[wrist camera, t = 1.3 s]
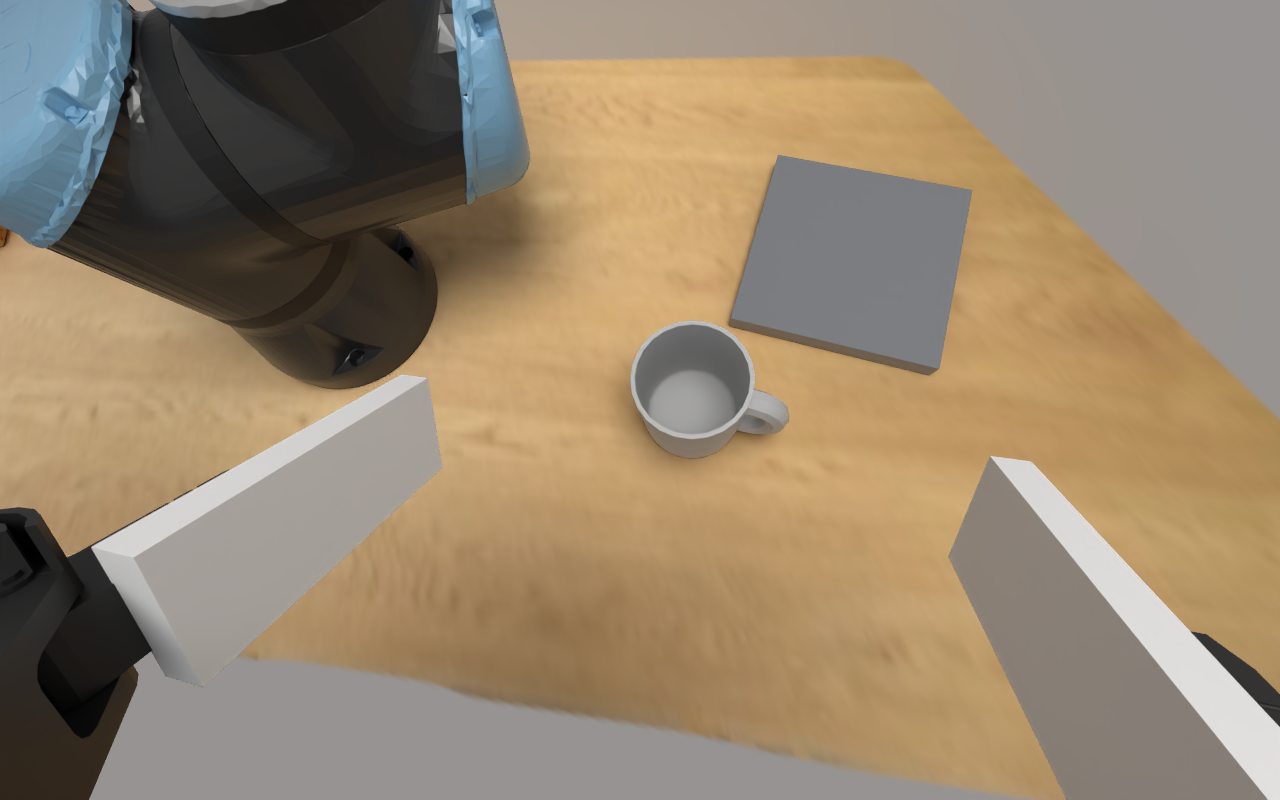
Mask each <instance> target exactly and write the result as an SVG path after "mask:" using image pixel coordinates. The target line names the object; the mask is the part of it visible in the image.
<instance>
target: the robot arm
mask: <svg viewBox="0 0 1280 800" xmlns="http://www.w3.org/2000/svg"><path fill="white" fill-rule="evenodd" d="M149 1H150V2H151V3H152V4H154V5H155V6H156V9H153V10H150V11H145V12H140V11H136V10H135V9H133V7H132V6H131V5H130V4H129V3H128V2H127V1H126V0H0V225H1V226H3V227H5V228H7V229H9V230H11V231H13V232H15V233H17V234H19V235H21V237H22V238H23V239H24V240H25V241H26V242H28V243H29V244H31V245H34V246H36V247H40V248H47V249H49V250H52V251H54V252H56V253H59V254H61V255H63V256H66V257H68V258H71V259H73V260H75V261H78V262H80V263H83V264H85V265H87V266H90V267H92V268H95V269H97V270H99V271H102V272H104V273H106V274H109V275H111V276H114V277H116V278H118V279H121V280H123V281H126V282H128V283H130V284H133V285H135V286H138V287H140V288H142V289H145V290H147V291H149V292H152V293H154V294H157V295H159V296H161V297H164V298H166V299H169V300H171V301H173V302H176V303H178V304H181V305H183V306H185V307H188V308H190V309H192V310H195V311H197V312H200V313H202V314H204V315H207V316H209V317H212V318H214V319H216V320H218V321H221V322H223V323H225V324H228V325H230V326H231V327H232V328H233V329H234V330H235V331H236V332H237V333H238V334H240V335H241V336H242V337H243V338H244V339H245V340H246V341H247V342H248V343H249V344H250V345H251V346H252V347H254V348H255V349H256V350H257V351H258V352H259V353H260V354H261V355H262V356H263V357H264V358H265V359H266V360H268V361H269V362H270V363H271V364H272V365H273V366H275V367H276V368H277V369H279V370H280V371H282V372H284V373H285V374H287V375H289V376H291V377H294V378H296V379H299V380H302V381H304V382H307V383H310V384H312V385H315V386H319V387H324V388H332V389H343V388H352V387H357V386H361V385H364V384H367V383H370V382H372V381H375V380H377V379H379V378H381V377H383V376H385V375H386V374H388V373H390V372H391V371H393V370H394V369H395V368H397V367H398V366H399V365H400V364H402V363H403V362H404V361H405V360H406V359H407V358H408V357H409V356H410V355H411V354H412V353H413V352H414V350H415V349H416V348H417V347H418V345H419V344H420V342H421V341H422V339H423V338H424V336H425V334H426V332H427V330H428V328H429V326H430V324H431V321H432V318H433V315H434V312H435V307H436V301H437V283H436V277H435V273H434V270H433V267H432V265H431V263H430V261H429V259H428V257H427V256H426V254H425V253H424V252H423V250H422V249H421V248H420V247H419V246H418V245H417V244H416V243H415V242H414V241H413V240H412V239H411V238H410V237H409V236H408V235H407V234H406V233H405V232H404V231H402V230H401V229H400V228H398V227H397V226H396V225H395V224H398V223H401V222H405V221H408V220H411V219H415V218H418V217H421V216H425V215H428V214H431V213H434V212H438V211H441V210H444V209H448V208H451V207H454V206H458V205H461V204H464V203H465V204H466V205H471V204H472V203H474V202H475V201H476V198H479V197H482V196H484V195H487V194H490V193H492V192H495V191H498V190H501V189H503V188H506V187H509V186H512V185H514V184H515V183H517V182H518V181H519V180H520V179H521V178H522V177H523V175H524V174H525V172H526V170H527V169H528V165H529V160H530V152H529V146H528V141H527V137H526V132H525V128H524V124H523V119H522V115H521V111H520V107H519V103H518V98H517V94H516V90H515V86H514V82H513V78H512V73H511V69H510V65H509V61H508V57H507V53H506V49H505V46H504V41H503V37H502V33H501V29H500V24H499V20H498V16H497V12H496V8H495V4H494V0H149ZM441 468H442V463H441V456H440V450H439V444H438V438H437V431H436V425H435V419H434V413H433V407H432V400H431V394H430V388H429V382H428V378H425V377H418V376H410V375H403V374H401V375H400V376H398V377H396V378H394V379H392V380H391V381H389V382H387V383H385V384H383V385H382V386H380V387H378V388H376V389H374V390H373V391H371V392H369V393H367V394H365V395H364V396H362V397H360V398H358V399H356V400H355V401H353V402H351V403H349V404H347V405H346V406H344V407H342V408H340V409H338V410H337V411H335V412H333V413H331V414H329V415H328V416H326V417H324V418H322V419H320V420H319V421H317V422H315V423H313V424H311V425H310V426H308V427H306V428H304V429H302V430H301V431H299V432H297V433H295V434H293V435H292V436H290V437H288V438H286V439H284V440H283V441H281V442H279V443H277V444H275V445H274V446H272V447H270V448H268V449H266V450H265V451H263V452H261V453H259V454H257V455H256V456H254V457H252V458H250V459H248V460H247V461H245V462H243V463H241V464H239V465H238V466H236V467H234V468H232V469H229V470H227V471H224V472H223V473H221V474H219V475H217V476H215V477H214V478H212V479H210V480H208V481H206V482H204V483H203V484H201V485H199V486H197V488H196V489H194V490H190V491H188V492H186V493H185V494H183V495H181V496H179V497H177V498H176V499H174V501H173V502H171V503H167V504H165V505H163V506H161V507H159V508H157V509H156V510H154V511H152V512H150V513H148V514H147V515H145V516H143V517H141V518H139V519H138V520H136V521H134V522H132V523H130V524H129V525H127V526H125V527H123V528H121V529H119V530H118V531H116V532H114V533H112V534H110V535H109V536H107V537H105V538H103V539H101V540H100V541H98V542H96V543H94V544H92V545H91V546H89V547H87V548H85V549H83V550H82V551H80V552H78V553H76V554H74V555H72V556H70V557H68V558H67V557H66V556H65V554H64V552H63V551H62V549H61V547H60V546H59V544H58V543H57V541H56V539H55V538H54V536H53V534H52V533H51V531H50V530H49V528H48V526H47V525H46V523H45V521H44V520H43V518H42V517H41V515H40V514H39V513H38V512H37V511H36V510H35V509H28V508H19V507H18V508H9V509H0V800H89V798H90V796H91V794H92V791H93V789H94V786H95V784H96V782H97V779H98V777H99V774H100V772H101V770H102V767H103V765H104V763H105V760H106V758H107V755H108V753H109V751H110V748H111V746H112V743H113V741H114V739H115V736H116V734H117V732H118V729H119V727H120V724H121V722H122V720H123V717H124V715H125V713H126V710H127V708H128V705H129V703H130V701H131V698H132V696H133V693H134V691H135V689H136V686H137V681H138V672H137V671H136V669H135V668H134V666H133V665H134V664H135V663H137V662H138V661H139V660H140V659H142V658H143V657H144V656H145V655H147V654H148V653H149V652H152V653H153V655H154V657H155V659H156V660H157V662H158V664H159V665H160V667H161V669H162V670H163V672H164V674H165V676H168V677H171V678H174V679H177V680H181V681H185V682H187V683H191V684H194V685H198V686H201V687H204V686H205V685H206V684H207V683H208V682H209V681H210V680H212V679H213V678H214V677H215V676H216V675H217V674H218V673H219V672H220V671H221V670H222V669H224V667H226V666H227V665H228V664H229V663H230V662H231V661H232V660H233V659H234V658H236V657H237V656H238V655H239V654H240V653H241V652H242V651H243V650H244V649H245V648H246V647H248V646H249V645H250V644H251V643H252V642H253V641H254V640H255V639H256V638H257V637H258V636H259V635H261V634H262V633H263V632H264V631H265V630H266V629H267V628H268V627H269V626H270V625H271V624H273V623H274V622H275V621H276V620H277V619H278V618H279V617H280V616H281V615H282V614H283V613H285V612H286V611H287V610H288V609H289V608H290V607H291V606H292V605H293V604H294V603H295V602H297V601H298V600H299V599H300V598H301V597H302V596H303V595H304V594H305V593H306V592H307V591H309V590H310V589H311V588H312V587H313V586H314V585H315V584H316V583H317V582H318V581H319V580H320V579H322V578H323V577H324V576H325V575H326V574H327V573H328V572H329V571H330V570H331V569H332V568H334V567H335V566H336V565H337V564H338V563H339V562H340V561H341V560H342V559H343V558H344V557H346V556H347V555H348V554H349V553H350V552H351V551H352V550H353V549H354V548H355V547H356V546H358V545H359V544H360V543H361V542H362V541H363V540H364V539H365V538H366V537H367V536H368V535H370V534H371V533H372V532H373V531H374V530H375V529H376V528H377V527H378V526H379V525H380V524H381V523H383V522H384V521H385V520H386V519H387V518H388V517H389V516H390V515H391V514H392V513H393V512H395V511H396V510H397V509H398V508H399V507H400V506H401V505H402V504H403V503H404V502H405V501H407V500H408V499H409V498H410V497H411V496H412V495H413V494H414V493H415V492H416V491H417V490H419V489H420V488H421V487H422V486H423V485H424V484H425V483H426V482H427V481H428V480H429V479H431V478H432V477H433V476H434V475H435V474H436V473H437V472H438V471H439V470H440V469H441ZM948 557H949V559H950V561H951V563H952V565H953V567H954V569H955V571H956V573H957V575H958V577H959V580H960V582H961V584H962V586H963V588H964V590H965V592H966V594H967V596H968V598H969V600H970V602H971V604H972V606H973V608H974V610H975V612H976V614H977V617H978V619H979V621H980V623H981V625H982V627H983V629H984V631H985V633H986V635H987V637H988V639H989V641H990V643H991V645H992V647H993V649H994V651H995V653H996V656H997V658H998V660H999V662H1000V664H1001V666H1002V668H1003V670H1004V672H1005V674H1006V676H1007V678H1008V680H1009V682H1010V684H1011V686H1012V688H1013V690H1014V693H1015V695H1016V697H1017V699H1018V701H1019V703H1020V705H1021V707H1022V709H1023V711H1024V713H1025V715H1026V717H1027V719H1028V721H1029V723H1030V725H1031V727H1032V730H1033V732H1034V734H1035V736H1036V738H1037V740H1038V742H1039V744H1040V746H1041V748H1042V750H1043V752H1044V754H1045V756H1046V758H1047V760H1048V762H1049V764H1050V766H1051V769H1052V771H1053V773H1054V775H1055V777H1056V779H1057V781H1058V783H1059V785H1060V787H1061V789H1062V791H1063V793H1064V795H1065V797H1066V799H1067V800H1280V694H1279V693H1278V692H1277V691H1276V690H1275V689H1274V688H1273V687H1272V686H1271V685H1270V684H1269V683H1268V682H1267V681H1266V680H1265V679H1264V678H1263V677H1262V676H1261V675H1260V674H1259V673H1258V672H1257V671H1256V670H1255V669H1254V668H1252V667H1251V666H1249V665H1248V664H1247V663H1245V662H1244V661H1242V660H1241V659H1240V658H1238V657H1237V656H1236V655H1234V654H1233V653H1231V652H1230V651H1229V650H1227V649H1226V648H1224V647H1223V646H1222V645H1220V644H1219V643H1218V642H1216V641H1215V640H1213V639H1212V638H1211V637H1209V636H1208V635H1206V634H1201V633H1196V632H1191V631H1189V630H1188V629H1187V628H1186V626H1185V625H1184V624H1183V623H1182V622H1181V621H1180V620H1179V619H1178V618H1177V617H1176V616H1175V615H1174V614H1173V613H1172V612H1171V610H1170V609H1169V608H1168V607H1167V606H1166V605H1165V604H1164V603H1163V602H1162V601H1161V600H1160V599H1159V598H1158V597H1157V595H1156V594H1155V593H1154V592H1153V591H1152V590H1151V589H1150V588H1149V587H1148V586H1147V585H1146V584H1145V583H1144V582H1143V581H1142V579H1141V578H1140V577H1139V576H1138V575H1137V574H1136V573H1135V572H1134V571H1133V570H1132V569H1131V568H1130V567H1129V566H1128V564H1127V563H1126V562H1125V561H1124V560H1123V559H1122V558H1121V557H1120V556H1119V555H1118V554H1117V553H1116V552H1115V551H1114V550H1113V548H1112V547H1111V546H1110V545H1109V544H1108V543H1107V542H1106V541H1105V540H1104V539H1103V538H1102V537H1101V536H1100V535H1099V533H1098V532H1097V531H1096V530H1095V529H1094V528H1093V527H1092V526H1091V525H1090V524H1089V523H1088V522H1087V521H1086V520H1085V519H1084V517H1083V516H1082V515H1081V514H1080V513H1079V512H1078V511H1077V510H1076V509H1075V508H1074V507H1073V506H1072V505H1071V504H1070V503H1069V501H1068V500H1067V499H1066V498H1065V497H1064V496H1063V495H1062V494H1061V493H1060V492H1059V491H1058V490H1057V489H1056V488H1055V486H1054V485H1053V484H1052V483H1051V482H1050V481H1049V480H1048V479H1047V478H1046V477H1045V476H1044V475H1043V474H1042V473H1041V472H1040V470H1039V469H1038V468H1037V467H1036V466H1035V465H1034V464H1033V463H1032V462H1030V461H1023V460H1016V459H1009V458H1002V457H994V456H990V457H989V460H988V462H987V464H986V467H985V469H984V472H983V474H982V476H981V479H980V481H979V484H978V486H977V489H976V491H975V493H974V496H973V498H972V501H971V503H970V505H969V508H968V510H967V513H966V515H965V518H964V520H963V522H962V525H961V527H960V530H959V532H958V534H957V537H956V539H955V542H954V544H953V547H952V549H951V551H950V554H949V556H948Z"/></svg>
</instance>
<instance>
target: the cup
mask: <svg viewBox="0 0 1280 800" xmlns="http://www.w3.org/2000/svg"><path fill="white" fill-rule="evenodd" d="M630 380H631V391H632V395H633V398H634V400H635V403H636V405H637V408H638V410H639V412H640V414H641V417H642V419H643V421H644V423H645V425H646V427H647V430H648V432H649V433H650V435H651V436H652V437H653V439H654V440H655V442H656V443H657V444H658V445H660V446H661V447H662V448H663V449H665V450H666V451H667V452H669V453H672V454H674V455H676V456H679V457H685V458H701V457H706V456H708V455H711V454H713V453H716V452H717V451H719V450H720V449H721V448H723V447H724V446H725V445H727V444H728V442H729V441H730V440H731V438H732V437H733V436H734V434H735V432H736V431H737V430H738V431H742V432H746V433H751V434H772V433H777V432H780V431H781V430H782V429H783V428H784V427H785V426H786V424H787V423H788V422H789V413H788V408H787V406H786V405H785V404H784V402H783V401H781V400H779V399H777V398H776V397H774V396H772V395H770V394H768V393H765V392H763V391H760V390H756V389H754V383H755V375H754V369H753V363H752V360H751V358H750V356H749V354H748V352H747V350H746V348H745V347H744V346H743V345H742V343H741V342H740V341H739V340H738V339H737V337H736V336H734V335H733V334H731V333H730V332H728V331H727V330H726V329H724V328H723V327H720V326H717V325H714V324H712V323H709V322H703V321H694V320H691V321H683V322H676V323H674V324H671V325H669V326H666V327H664V328H661V329H660V330H659V331H657V332H656V333H654V334H653V335H652V336H650V337H649V338H648V339H647V340H646V342H645V343H644V344H643V345H642V346H641V348H640V349H639V351H638V353H637V355H636V357H635V359H634V361H633V365H632V371H631V376H630Z"/></svg>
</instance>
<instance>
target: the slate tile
mask: <svg viewBox="0 0 1280 800" xmlns="http://www.w3.org/2000/svg"><path fill="white" fill-rule="evenodd" d="M971 195H972V190H969V189H963V188H958V187H952V186H947V185H941V184H936V183H930V182H925V181H919V180H914V179H908V178H903V177H897V176H892V175H886V174H881V173H875V172H870V171H864V170H859V169H853V168H847V167H842V166H836V165H831V164H825V163H820V162H814V161H809V160H803V159H798V158H792V157H787V156H781V155H778V157H777V161H776V164H775V167H774V171H773V174H772V178H771V181H770V185H769V188H768V191H767V195H766V198H765V202H764V205H763V209H762V212H761V215H760V219H759V222H758V226H757V229H756V233H755V236H754V240H753V243H752V246H751V250H750V253H749V257H748V260H747V264H746V267H745V270H744V274H743V277H742V281H741V284H740V288H739V291H738V295H737V298H736V301H735V305H734V308H733V312H732V315H731V319H730V324H729V326H731V327H735V328H739V329H743V330H747V331H751V332H755V333H760V334H764V335H768V336H772V337H776V338H780V339H784V340H788V341H792V342H796V343H800V344H804V345H808V346H812V347H816V348H821V349H825V350H829V351H833V352H837V353H841V354H845V355H849V356H853V357H857V358H861V359H865V360H869V361H873V362H877V363H881V364H886V365H890V366H894V367H898V368H902V369H906V370H910V371H914V372H918V373H922V374H926V375H930V374H932V373H933V372H935V371H937V370H938V369H939V367H940V362H941V357H942V351H943V346H944V340H945V335H946V330H947V324H948V319H949V313H950V308H951V303H952V297H953V292H954V287H955V281H956V276H957V270H958V265H959V260H960V254H961V249H962V243H963V238H964V233H965V227H966V222H967V217H968V211H969V206H970V200H971Z"/></svg>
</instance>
